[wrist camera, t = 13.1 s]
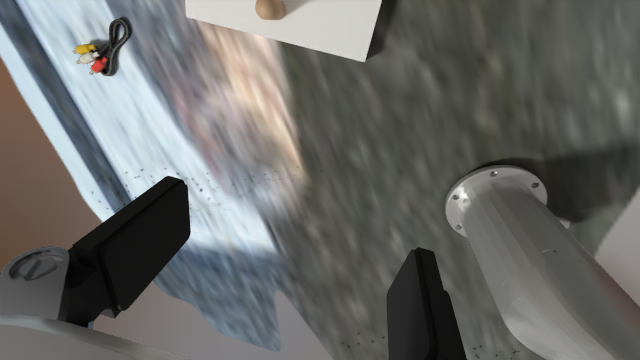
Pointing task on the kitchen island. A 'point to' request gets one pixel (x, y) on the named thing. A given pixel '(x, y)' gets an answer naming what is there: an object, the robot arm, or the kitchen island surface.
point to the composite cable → (104, 50)
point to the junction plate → (297, 21)
